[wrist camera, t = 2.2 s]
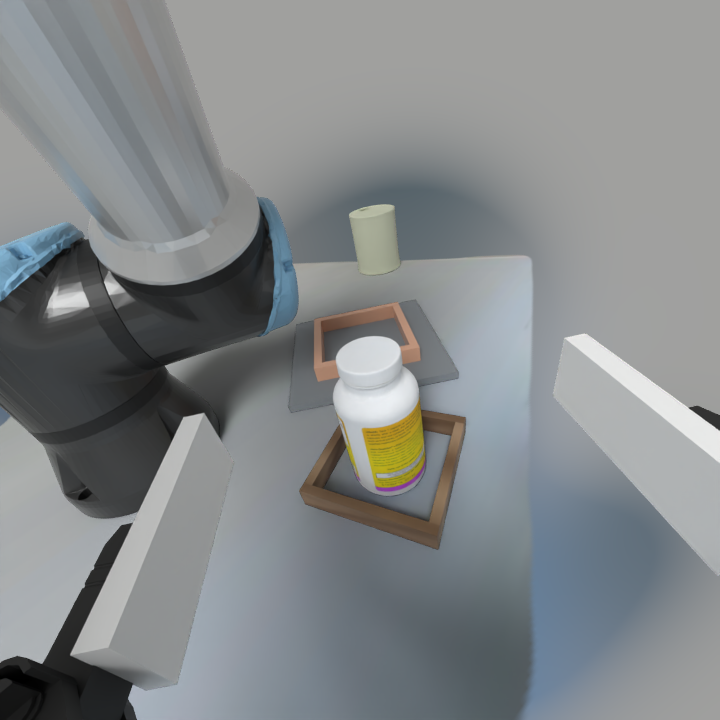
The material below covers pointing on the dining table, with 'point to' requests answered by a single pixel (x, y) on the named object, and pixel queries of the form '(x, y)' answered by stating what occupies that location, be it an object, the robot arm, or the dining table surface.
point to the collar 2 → (378, 515)
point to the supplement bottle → (380, 415)
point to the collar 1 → (357, 318)
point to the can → (375, 239)
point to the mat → (432, 352)
